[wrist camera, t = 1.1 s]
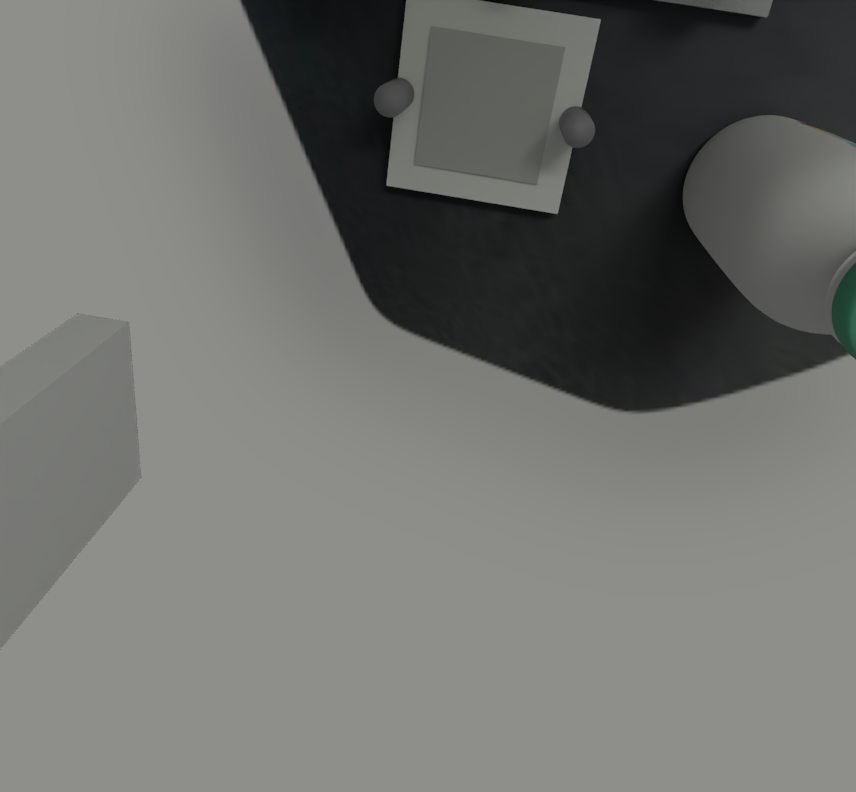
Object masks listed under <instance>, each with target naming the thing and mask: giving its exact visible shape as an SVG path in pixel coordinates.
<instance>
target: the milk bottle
mask: <svg viewBox="0 0 856 792" xmlns="http://www.w3.org/2000/svg"><path fill="white" fill-rule="evenodd" d="M683 207H684V213H685V216H686V219H687V222H688V224H689V226H690V228H691V229H692V231H693V233H694V234H695V236H696V237H697V238H698V240H699V241H700V242H701V244H702V245H703V246H704V248H705V249H706V250H707V252H708V253H709V254H710V255H711V257H712V258H713V259H714V261H715V262H716V263H717V264H718V266H719V267H720V268H721V269H722V271H723V272H724V273H725V274H726V275H727V277H728V278H729V279H730V280H731V282H732V283H733V284H734V285H735V286H736V288H737V289H738V290H739V291H740V292H741V293H742V294H743V295H744V296H745V297H746V298H747V299H748V300H749V301H750V302H751V303H752V304H753V305H754V306H755V307H756V308H757V309H759V310H760V311H761V312H763V313H764V314H766V315H767V316H769V317H770V318H772V319H773V320H775V321H777V322H779V323H781V324H784V325H786V326H788V327H791V328H794V329H797V330H801V331H805V332H810V333H816V334H832V335H833V336H834V338H835V339H836V340H837V341H838V342H839V343H840V344H842V345H843V347H844V348H845V349H846V350H847V351H848V353H849V354H850V355H851V356H852V357H854V358H855V359H856V144H855V143H853V142H851V141H848V140H846V139H844V138H841V137H839V136H836V135H834V134H831V133H829V132H826V131H824V130H821V129H819V128H816V127H814V126H811V125H808V124H806V123H803V122H800V121H797V120H794V119H791V118H787V117H783V116H776V115H761V116H754V117H749V118H746V119H743V120H740V121H738V122H735V123H733V124H731V125H729V126H727V127H726V128H724V129H722V130H721V131H720V132H718V133H717V134H716V135H714V136H713V137H712V138H711V139H710V140H709V141H708V142H707V143H706V144H705V145H704V146H703V147H702V148H701V150H700V151H699V152H698V154H697V155H696V157H695V158H694V160H693V162H692V163H691V165H690V168H689V170H688V172H687V175H686V178H685V183H684V188H683Z"/></svg>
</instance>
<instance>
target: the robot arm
mask: <svg viewBox="0 0 856 792" xmlns="http://www.w3.org/2000/svg"><path fill="white" fill-rule="evenodd" d="M140 479H141V469H140V456H139V443H138V430H137V417H136V405H135V392H134V379H133V366H132V354H131V342H130V329H129V322H126V321H119V320H113V319H108V318H102V317H95V316H90V315H84V314H76V315H75V316H73V317H72V318H71V319H69V320H67V321H66V322H65V323H63V324H62V325H60V326H59V327H57V328H56V329H54V330H53V331H51V332H50V333H48V334H47V335H45V336H44V337H43V338H41V339H40V340H38V341H37V342H35V343H34V344H32V345H31V346H30V347H28V348H26V349H25V350H23V351H22V352H20V353H19V354H17V355H16V356H15V357H13V358H12V359H10V360H9V361H7V362H6V363H4V364H3V365H1V366H0V649H1V648H2V647H3V646H4V645H5V643H6V642H7V641H8V640H9V638H10V637H11V636H12V635H13V634H14V632H15V631H16V630H17V629H18V627H19V626H20V625H21V624H22V623H23V621H24V620H25V619H26V618H27V616H28V615H29V614H30V613H31V612H32V610H33V609H34V608H35V607H36V605H37V604H38V603H39V601H40V600H41V599H42V598H43V597H44V596H45V594H46V593H47V592H48V591H49V590H50V588H51V587H52V586H53V585H54V583H55V582H56V581H57V580H58V579H59V577H60V576H61V575H62V574H63V573H64V571H65V570H66V569H67V568H68V566H69V565H70V564H71V563H72V561H73V560H74V559H75V558H76V557H77V555H78V554H79V553H80V552H81V551H82V549H83V548H84V547H85V546H86V544H87V543H88V542H89V541H90V540H91V538H92V537H93V536H94V535H95V533H96V532H97V531H98V530H99V529H100V527H101V526H102V525H103V524H104V523H105V521H106V520H107V519H108V518H109V516H110V515H111V514H112V513H113V511H114V510H115V509H116V508H117V507H118V505H119V504H120V503H121V502H122V500H123V499H124V498H125V497H126V495H127V494H128V493H129V492H130V491H131V490H132V488H133V487H134V486H135V485H136V483H137V482H138V481H139V480H140Z"/></svg>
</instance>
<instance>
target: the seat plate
mask: <svg viewBox="0 0 856 792" xmlns="http://www.w3.org/2000/svg"><path fill="white" fill-rule="evenodd" d="M600 22H601V19H595V18H589V17H583V16H576V15H570V14H563V13H557V12H551V11H544V10H538V9H531V8H525V7H519V6H512V5H506V4H499V3H493V2H487V1H480V0H406V7H405V16H404V25H403V35H402V44H401V53H400V63H399V72H398V78H395V79H393V80H391V81H389V82H387V83H385V84H383V85H381V86H380V87H379V88H378V89H377V90H376V92H375V95H374V105H375V108H376V110H377V111H378V112H379V113H380V114H381V115H383V116H385V117H389V118H390V117H394V118H393V127H392V137H391V146H390V155H389V165H388V174H387V183H386V186H392V187H398V188H404V189H410V190H416V191H422V192H428V193H434V194H440V195H446V196H452V197H458V198H464V199H470V200H476V201H482V202H488V203H494V204H500V205H506V206H512V207H518V208H524V209H530V210H536V211H542V212H548V213H554V214H558V210H559V205H560V201H561V196H562V192H563V187H564V183H565V178H566V174H567V170H568V165H569V161H570V156H571V152H572V147H573V148H582V147H584V146H586V145H588V144H589V143H590V142H591V141H592V139H593V137H594V134H595V125H594V123H593V121H592V119H591V118H590V116H589V115H588V113H587V112H586V110H584V109H583V108H581V107H582V102H583V98H584V93H585V89H586V85H587V80H588V76H589V71H590V67H591V62H592V58H593V53H594V49H595V44H596V40H597V35H598V31H599V26H600Z"/></svg>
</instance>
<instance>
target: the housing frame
mask: <svg viewBox="0 0 856 792" xmlns="http://www.w3.org/2000/svg"><path fill="white" fill-rule="evenodd" d="M653 1H660V2H666V3H672V4H679V5H685V6H692V7H698V8H705V9H711V10H718V11H724V12H731V13H737V14H743V15H750V16H756V17H768V14H769V11H770V8H771V5H772V1H773V0H653Z"/></svg>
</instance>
